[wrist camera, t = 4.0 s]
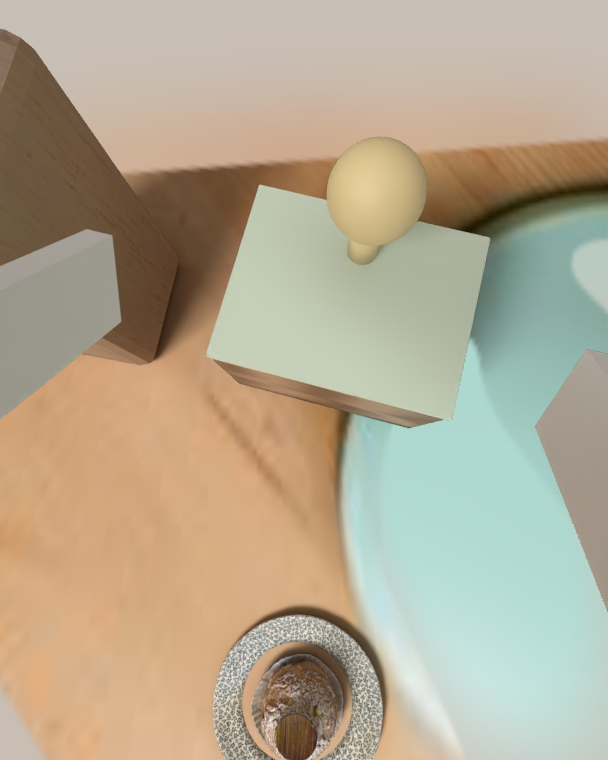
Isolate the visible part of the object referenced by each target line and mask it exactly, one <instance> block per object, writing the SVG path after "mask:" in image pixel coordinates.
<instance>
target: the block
mask: <svg viewBox="0 0 608 760" xmlns="http://www.w3.org/2000/svg"><path fill="white" fill-rule="evenodd" d="M86 229H88V230H92V231H96V232H101V233H105V234H109V235H112V238H113V247H114V256H115V266H116V275H117V285H118V294H119V304H120V313H121V322H120V323H119V324H118V325H117V326H115V327H114V328H113V329H112V330H111V331H109V332H108V333H107V334H106V335H104V336H103V337H102V338H101V339H99V340H98V341H97V342H96V343H94V344H93V345H92V346H91V347H90V348H88V349H87V350H86V351H85V352H83V353H82V354H83V355H89V356H94V357H99V358H105V359H110V360H116V361H121V362H126V363H132V364H137V365H142V364H147V363H151V362H152V360H153V359H154V357H155V354H156V350H157V346H158V342H159V338H160V334H161V330H162V326H163V322H164V318H165V315H166V311H167V307H168V303H169V299H170V295H171V291H172V287H173V283H174V279H175V275H176V271H177V267H178V257H177V253H176V252H175V251H174V249H173V248H172V246H171V245H170V243H169V242H168V241H167V239H166V238H165V236H164V235H163V233H162V232H161V230H160V229H159V228H158V226H157V225H156V223H155V222H154V220H153V219H152V218H151V216H150V215H149V213H148V212H147V210H146V209H145V208H144V206H143V205H142V203H141V202H140V200H139V199H138V197H137V196H136V195H135V193H134V192H133V190H132V189H131V187H130V186H129V185H128V183H127V182H126V180H125V179H124V177H123V176H122V175H121V173H120V172H119V170H118V169H117V167H116V166H115V164H114V163H113V162H112V160H111V159H110V157H109V156H108V154H107V153H106V152H105V150H104V149H103V147H102V146H101V144H100V143H99V142H98V140H97V139H96V137H95V136H94V134H93V133H92V132H91V130H90V129H89V127H88V126H87V124H86V123H85V121H84V120H83V119H82V117H81V116H80V114H79V113H78V111H77V110H76V109H75V107H74V106H73V104H72V103H71V101H70V100H69V98H68V97H67V96H66V94H65V93H64V91H63V90H62V89H61V87H60V86H59V84H58V83H57V81H56V80H55V78H54V77H53V76H52V74H51V73H50V71H49V70H48V68H47V67H46V65H45V64H44V63H43V61H42V60H41V58H40V57H39V55H38V54H37V53H36V51H35V50H34V49H33V48H32V47H31V46H30V45H28V44H27V43H26V42H25V41H24V40H22V39H21V38H20V37H18V36H16V35H14V34H12V33H10V32H8V31H6V30H3V29H0V266H2V265H4V264H7V263H9V262H11V261H14V260H16V259H18V258H21V257H23V256H25V255H28V254H30V253H32V252H35V251H37V250H39V249H42V248H44V247H46V246H49V245H51V244H53V243H56V242H58V241H60V240H63V239H65V238H67V237H69V236H72V235H74V234H76V233H79V232H81V231H83V230H86Z"/></svg>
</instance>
